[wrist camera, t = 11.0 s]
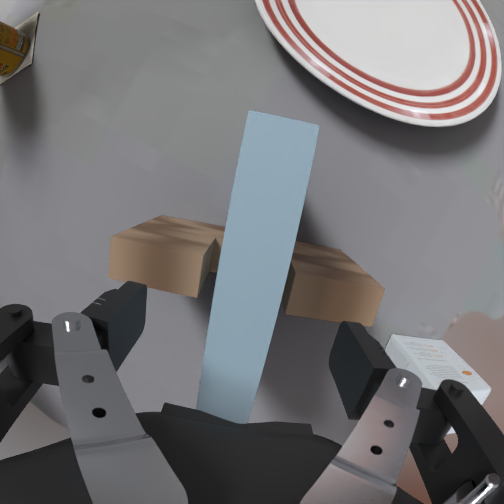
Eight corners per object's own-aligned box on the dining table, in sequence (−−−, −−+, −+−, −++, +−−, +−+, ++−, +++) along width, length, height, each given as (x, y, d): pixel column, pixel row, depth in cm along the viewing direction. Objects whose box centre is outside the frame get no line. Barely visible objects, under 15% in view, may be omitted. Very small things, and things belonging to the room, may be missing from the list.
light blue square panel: (219, 325, 28) (191, 447, 13) (252, 151, 24) (248, 110, 10) (245, 330, 28) (237, 455, 13) (281, 157, 24) (319, 125, 10)
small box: (370, 375, 29) (405, 440, 19) (391, 331, 28) (438, 391, 18) (423, 378, 30) (463, 433, 19) (443, 339, 28) (493, 389, 18)
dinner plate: (215, 74, 23) (210, 61, 20) (286, -87, 17) (288, -102, 13) (473, 174, 24) (493, 175, 21) (481, -2, 18) (494, -10, 15)
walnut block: (158, 242, 26) (108, 277, 16) (161, 215, 25) (111, 236, 16) (333, 276, 27) (371, 326, 17) (340, 249, 26) (384, 288, 16)
